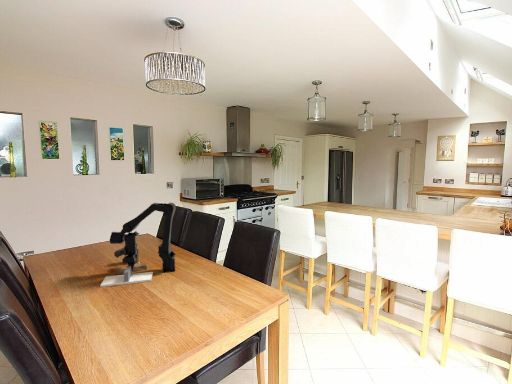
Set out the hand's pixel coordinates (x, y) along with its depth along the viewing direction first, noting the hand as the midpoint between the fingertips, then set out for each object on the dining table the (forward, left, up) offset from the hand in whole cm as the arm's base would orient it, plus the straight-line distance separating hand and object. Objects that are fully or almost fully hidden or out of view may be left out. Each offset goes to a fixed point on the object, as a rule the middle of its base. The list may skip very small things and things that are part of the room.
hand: (131, 269), depth 160 cm
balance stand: (0, +13, -1) cm, 13 cm away
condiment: (+1, -15, -1) cm, 16 cm away
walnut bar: (0, 0, -1) cm, 1 cm away
